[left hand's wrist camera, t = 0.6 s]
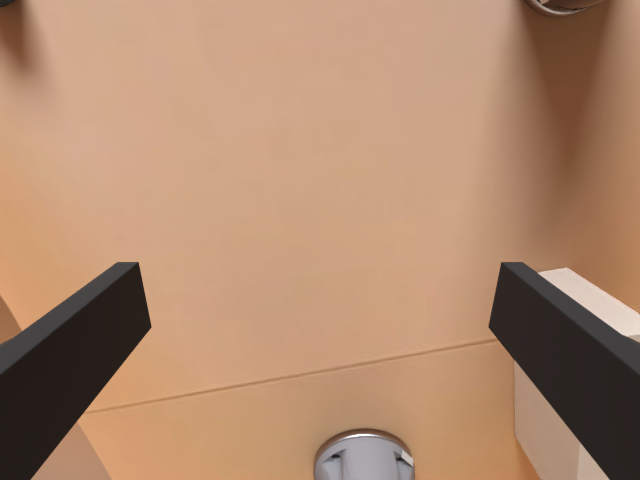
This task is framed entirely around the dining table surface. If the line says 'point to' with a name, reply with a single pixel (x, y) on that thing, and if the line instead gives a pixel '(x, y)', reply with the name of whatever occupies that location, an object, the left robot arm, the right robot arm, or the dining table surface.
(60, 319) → the left robot arm
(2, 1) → the handgun
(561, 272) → the box
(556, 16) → the right robot arm
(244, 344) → the dining table surface
